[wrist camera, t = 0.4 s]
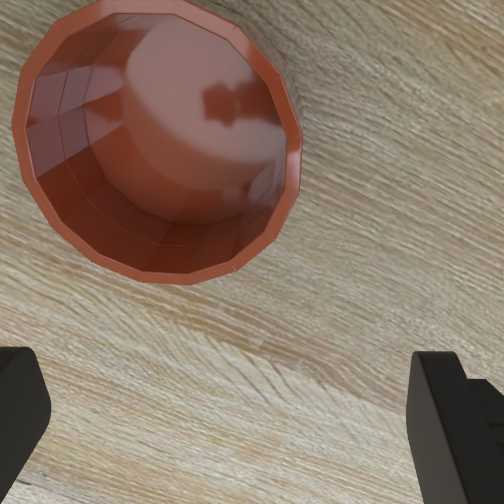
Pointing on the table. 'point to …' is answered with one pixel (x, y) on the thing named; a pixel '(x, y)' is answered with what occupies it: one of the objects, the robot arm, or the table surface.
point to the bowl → (160, 137)
